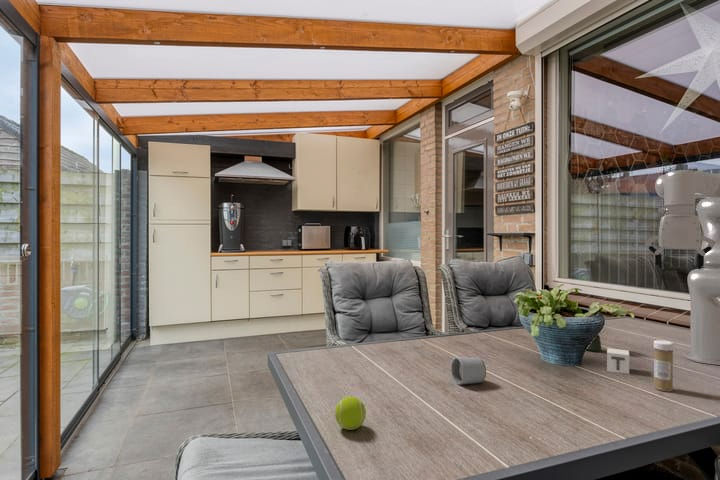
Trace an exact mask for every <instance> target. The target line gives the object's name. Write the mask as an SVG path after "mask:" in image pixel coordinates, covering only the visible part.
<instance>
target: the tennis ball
mask: <svg viewBox="0 0 720 480" xmlns="http://www.w3.org/2000/svg"><path fill="white" fill-rule="evenodd" d="M334 415H335V421H336V423H337V424H338V425H339V427H341V428H342V429H345V430H349V431H353V430H356V429H359V427H361V426H362V425H363V423H364V422H365V419H366V415H367V413H366V407H365V405H364V402H363V401H362V400H361V399H359V398H357V397H354V396H345V397H344V398H342V399H340V401H339V402H338V403H337V405H336V407H335V410H334Z"/></svg>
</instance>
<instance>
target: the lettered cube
mask: <svg viewBox="0 0 720 480" xmlns="http://www.w3.org/2000/svg"><path fill="white" fill-rule="evenodd" d="M606 350H607V351H606V372H611V373H619V374H626V375H630V350H628V349H627V350H625V349H619V348H612V347H611V348H610V347H608V348H606Z"/></svg>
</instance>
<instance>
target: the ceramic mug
mask: <svg viewBox="0 0 720 480" xmlns="http://www.w3.org/2000/svg"><path fill="white" fill-rule="evenodd" d="M450 369H451V370H450V371H451V376H452V379H453V381H454V382H455V384H456V385H460V386H462V385H469V384H471V385H472V384H479V383H482V382H484V381H485V379H486V377H487V367H486V365H485V363H484V361H483V360H482V359H481V358H479V357H463V356H462V357H461V356H460V357H459V356H457V357H454V358H453V360H452V361H451V368H450Z"/></svg>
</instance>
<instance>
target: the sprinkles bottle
mask: <svg viewBox="0 0 720 480" xmlns="http://www.w3.org/2000/svg"><path fill="white" fill-rule="evenodd" d="M653 349H654V350H653V351H654V353H653V354H654V358H653V377H654V378H653V379H654V380H653V388H654V389H655V390H658V391H661V392H668V393H670V392H673V391H674V385H673V383H674V381H673V379H674V368H673V367H674V360H673V359H674V357H673V356H674V350H675V348H674V343H673V342H671V341H667V340H660V339H658V340H656V339H655V340H653Z"/></svg>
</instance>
